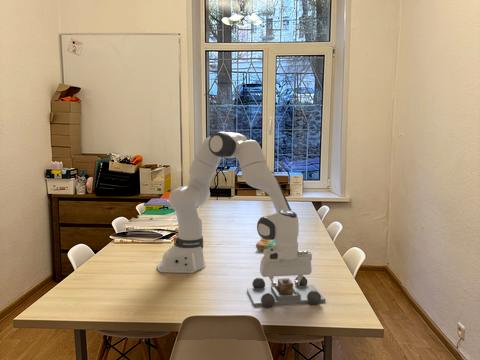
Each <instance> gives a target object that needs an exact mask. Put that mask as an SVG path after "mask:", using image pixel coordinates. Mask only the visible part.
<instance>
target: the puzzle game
mask: <svg viewBox="0 0 480 360" xmlns="http://www.w3.org/2000/svg"><path fill="white" fill-rule="evenodd" d="M273 246H275V240H266V239H263V238H261V237H260V240H258V242H257V243H256V244H255V248H256V250H257V251H259V252H263V251H264V250H265V249H267V248H270V247H273Z"/></svg>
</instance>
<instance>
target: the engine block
mask: <svg viewBox="0 0 480 360" xmlns="http://www.w3.org/2000/svg"><path fill="white" fill-rule="evenodd" d="M277 285H278V292H279V294H280V295H293V286H294V283H293V282H292V280H291V278H289V277H288V278H286V277H284V278H278V279H277Z"/></svg>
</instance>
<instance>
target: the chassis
mask: <svg viewBox="0 0 480 360" xmlns="http://www.w3.org/2000/svg"><path fill="white" fill-rule="evenodd" d="M297 278H298V276H297V277H295V278H294V281H295V280H297ZM251 284H252V288H247V289H246V292H247V295H248V296H249V299H250V301H251V303H252V305H253V307H254V308H255V307H264V308H272V307H273V306H283V305H286V306H287V305H298V304H301V305H302V304H311V305H313V306H314V305H317V304H319V303H326V298H325V297H324V296H323V294H322V293H321V292H320V291H319V290H318V288H316V287H315V285H314V284H309V285H308V279H307V278H306V276H305V275H303V277H302V279H301V281H300V283H299V286H295V285H293V295H280V294H279V292H278V284H276V287H272V285H270V287H265V286H266V282H265V280H264V278H262V277H256V278H254V279H253V281H252V283H251Z"/></svg>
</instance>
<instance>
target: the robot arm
mask: <svg viewBox="0 0 480 360" xmlns="http://www.w3.org/2000/svg"><path fill="white" fill-rule="evenodd" d="M222 158H226V159H234V158H235V159H236V160H237V162H238V163H239V164H238V165H239V168H240V171H241V175H242V178H243V180H244V182H245V183H246V184H247V185H248V186H249V187H252V188H254V189H258V190H260V191H263V192H265V193H267V196H269V198H270V199H271V202H272V204H273V207H274V209H275V211H276V212H275V213H273V214H267V215H264V216H262V217H260V218H259V219H258V221H257V224H256V230H257V234H258V235H259V237H260V239H261V238H263V239H266V240H275V246H273V247H270V248H267V249H265V250H264V251H262V252H263V256H262V258H261V261H260V265H259V266H260V267H259V272H260V275H261V276H262V277H263V278H269V280H270V281H271V285H272V287H276V285H277V282H276V281H275V280H273V279H274V278H275V277H287V276H288V277H290V276H291V277H292V276H297V277H298V278H297V280H295V279H294V286H299V283H300V281H301V279H302V277H303V276H308V275H309V276H310V275H311V273H312V271H313V270H312V268H313V267H312V258H313V255H312V253H311V252H310V251H308V250H305V251H301V250H299V241H298V237H299V233H300V232H299V231H300V229H299V226H300V225H299V217H298V215H297V212H295V211H294V210H292V208H291V207H290V204H289V202H288V200H287V198H286V194H285V193H284V191H283V188H282V186H281V184H280V181H279V180H278V179H277V177H275V175H273V173H272V172H271V170H270V168H269V166H268V163H267V159H266V156H265V154H264V152H263V149H262V147H261V145H260V144H259V142H257V140H255V139H251V138H250V137H249V136H247V135H246V134H244V133H238V132H233V131H228V132H227V131H218V132H217V131H216V132H214V133H213V134H212V135H211V136H208V137H206V138H205V139H204V140H203V142H202V143H201V144H200V146H199V148H198V150H197V152H196V154H195V156H194V157H193V159H192V163H191V165H190V167H189V170H188V172H189V180H188V183H187V184H186V185H183V186H178V187H176V188H175V189H173V190H172V191H171V192H170V194H169V196H168V203H169V205H170V207H171V209H173V210H174V212H175V215H176V218H177V226H178V227H177V228H178V229H177V231H178V236H175V235H174V236H173V239H172V240H173V246H171V247H170V248H168V249H167V250H166V251H165V252H164V253H163V255H162V259H161V261H158V263H157V266H156V267H157V269H156V270H157V271H159V272H160V273H167V274H168V273H173V274H174V273H175V274H177V273H178V274H181V273H182V274H193V273H195V272H198V271H200V270H203V269H204V268H205V267H206V262H205V257H204V250H203V249H204V236H203V221H202V219H201V217H199V214H198V211H197V210H198V209H197V207H200V206H202V205H204V204H205V203H206V202H207V201H209V199H210V197H211V192H210V191H211V190H210V188H211V184H212V179H213V177H214V175H215V173H216V171H217V169H218V166H219V164H220V162H221V160H222ZM271 285H270V286H271Z"/></svg>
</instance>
